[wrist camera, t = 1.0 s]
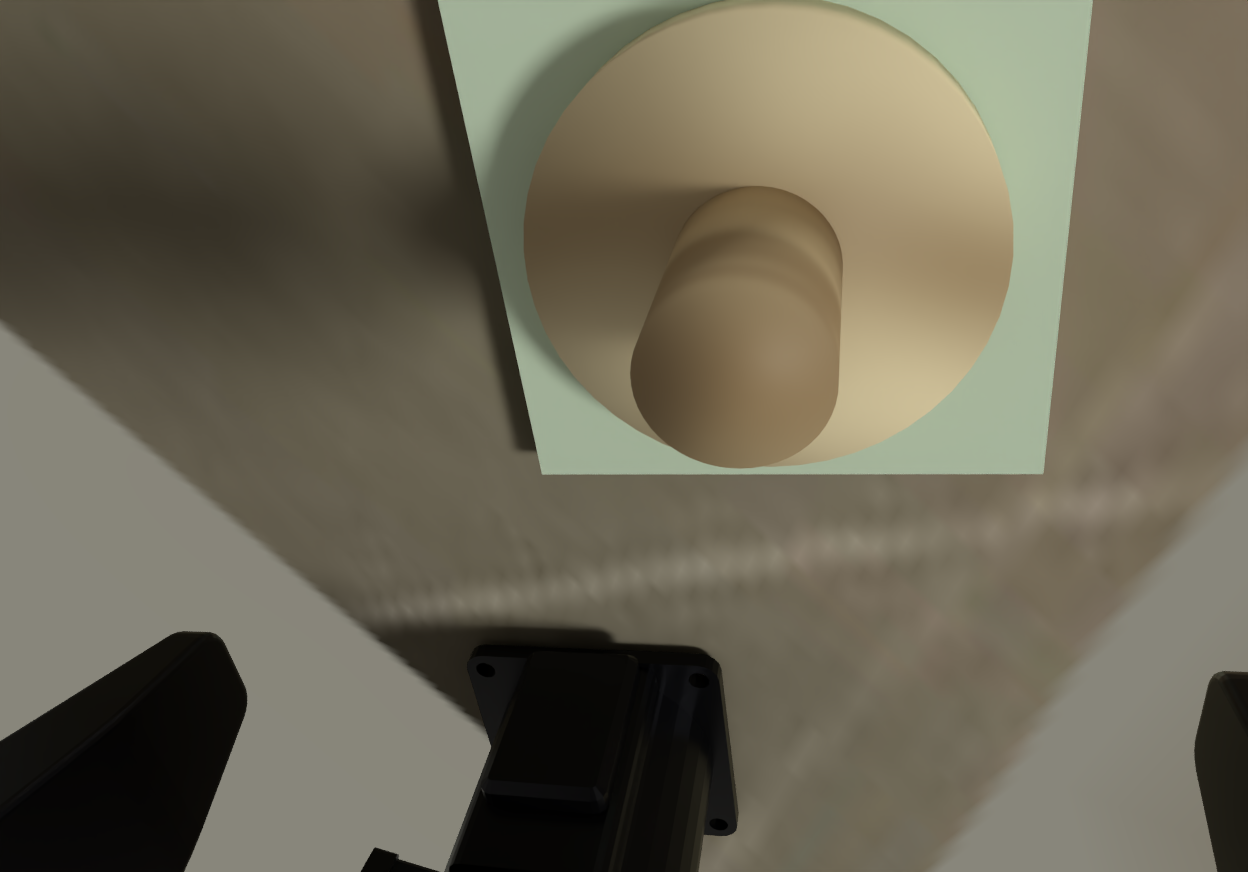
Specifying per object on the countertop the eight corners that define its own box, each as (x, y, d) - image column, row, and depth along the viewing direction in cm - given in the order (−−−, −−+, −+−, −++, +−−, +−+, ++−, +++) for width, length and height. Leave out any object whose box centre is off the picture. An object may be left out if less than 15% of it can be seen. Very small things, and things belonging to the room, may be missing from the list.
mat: (1037, 450, 20) (1042, 473, 19) (551, 453, 22) (542, 474, 21) (1094, -129, 14) (1105, -125, 14) (446, -42, 17) (429, -35, 16)
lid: (990, 430, 19) (1026, 614, 15) (579, 434, 20) (510, 598, 16) (1022, -36, 14) (1087, 40, 10) (502, 23, 16) (382, 107, 12)
